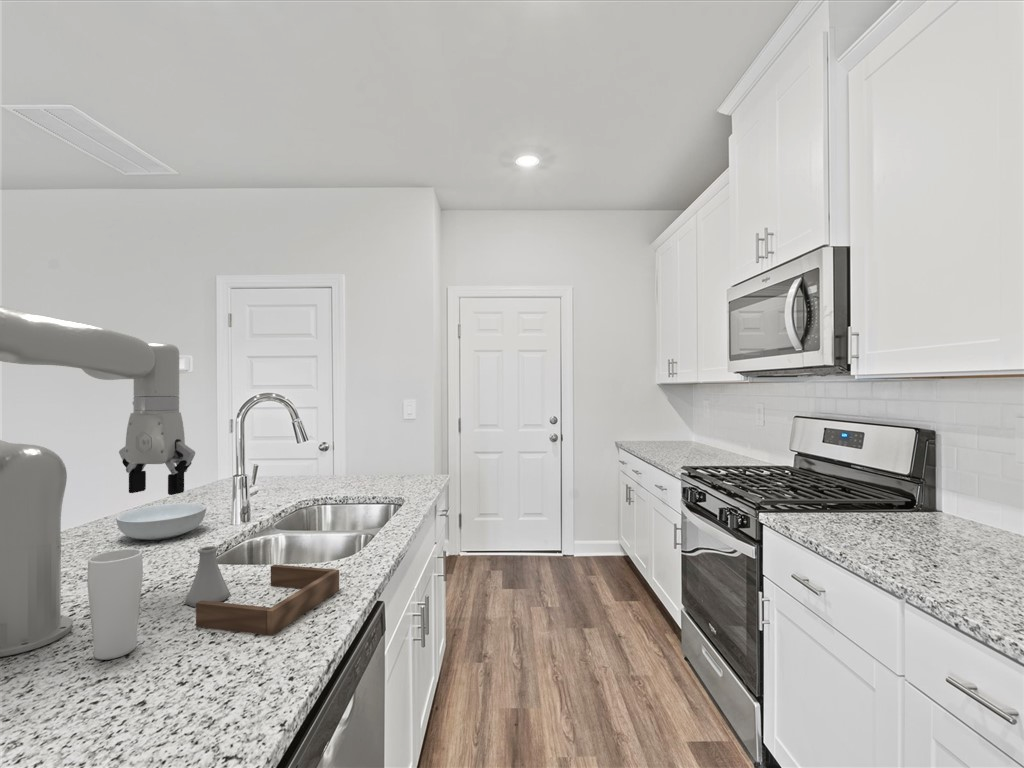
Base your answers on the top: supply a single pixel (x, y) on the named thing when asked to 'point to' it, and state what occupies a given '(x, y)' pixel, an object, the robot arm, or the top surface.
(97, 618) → the white tall hollow cylinder
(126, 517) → the serving bowl
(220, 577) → the flask
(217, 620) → the box
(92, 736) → the top surface
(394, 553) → the top surface
